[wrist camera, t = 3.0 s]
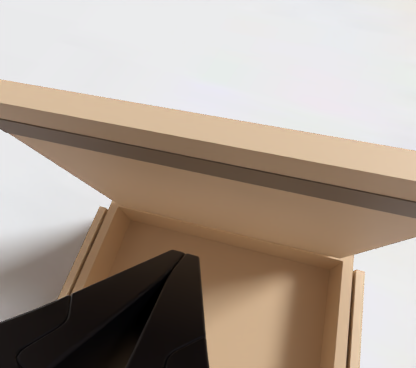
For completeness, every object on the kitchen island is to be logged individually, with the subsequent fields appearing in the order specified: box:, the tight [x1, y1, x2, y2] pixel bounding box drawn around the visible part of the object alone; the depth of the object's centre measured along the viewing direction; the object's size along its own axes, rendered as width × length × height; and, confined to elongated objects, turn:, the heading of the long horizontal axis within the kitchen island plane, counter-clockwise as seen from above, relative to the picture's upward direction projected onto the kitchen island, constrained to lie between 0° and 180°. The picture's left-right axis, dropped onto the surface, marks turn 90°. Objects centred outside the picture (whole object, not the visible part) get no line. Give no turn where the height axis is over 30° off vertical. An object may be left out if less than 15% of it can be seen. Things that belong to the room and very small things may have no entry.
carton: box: [57, 200, 365, 368], centre depth 16 cm, size 12×15×3 cm
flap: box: [0, 80, 416, 258], centre depth 12 cm, size 1×12×11 cm, turn 74°
